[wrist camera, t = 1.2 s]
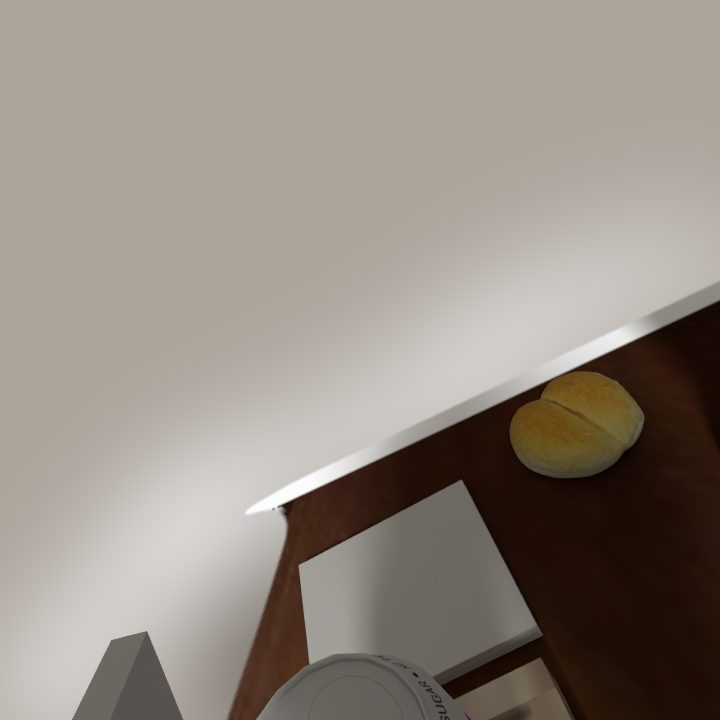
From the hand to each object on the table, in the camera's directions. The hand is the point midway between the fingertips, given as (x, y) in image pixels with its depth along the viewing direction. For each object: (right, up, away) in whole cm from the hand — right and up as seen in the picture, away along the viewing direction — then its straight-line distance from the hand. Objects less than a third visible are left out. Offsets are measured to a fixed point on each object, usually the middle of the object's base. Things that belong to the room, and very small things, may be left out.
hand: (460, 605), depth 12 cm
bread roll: (+14, 0, +29) cm, 32 cm away
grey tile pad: (+1, -11, +25) cm, 27 cm away
